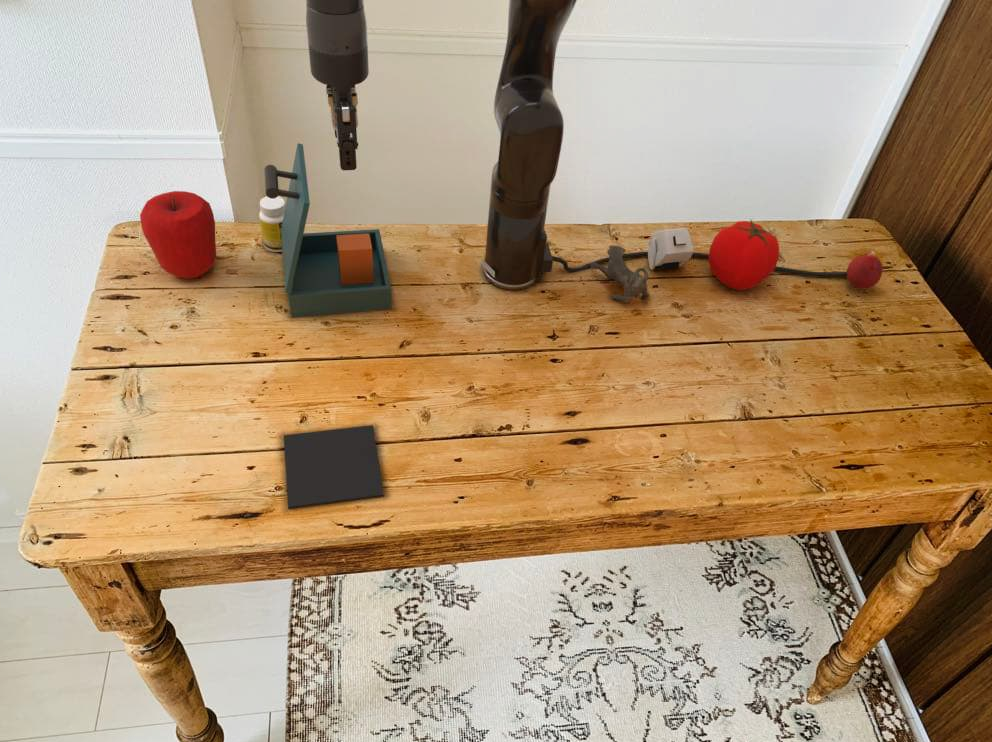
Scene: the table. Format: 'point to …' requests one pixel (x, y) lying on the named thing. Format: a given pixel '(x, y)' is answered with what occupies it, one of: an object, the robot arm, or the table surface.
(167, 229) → the apple
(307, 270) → the box
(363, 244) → the block
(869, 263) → the onion
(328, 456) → the mat
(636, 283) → the dog figurine
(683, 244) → the light grey block
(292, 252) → the lunchbox lid
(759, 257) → the tomato
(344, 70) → the robot arm
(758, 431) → the table surface
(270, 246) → the supplement bottle
